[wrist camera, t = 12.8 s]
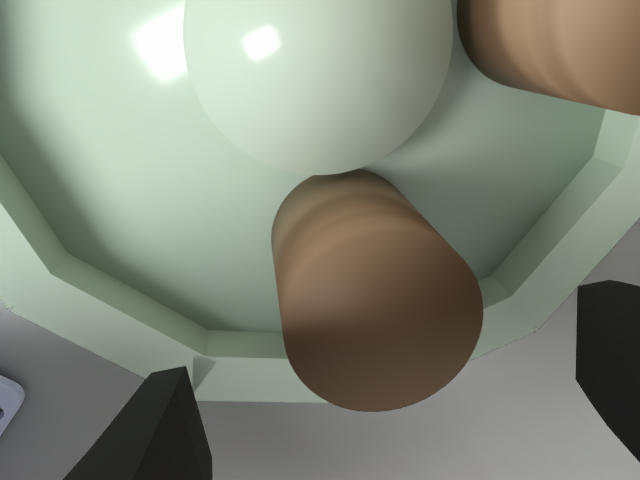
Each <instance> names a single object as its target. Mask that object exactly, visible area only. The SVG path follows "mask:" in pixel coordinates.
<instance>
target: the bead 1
mask: <svg viewBox="0 0 640 480" xmlns="http://www.w3.org/2000/svg"><path fill="white" fill-rule="evenodd" d="M271 245H272V254H273V262H274V270H275V278H276V286H277V293H278V301H279V309H280V317H281V325H282V333H283V341H284V346H285V351H286V354H287V357H288V360H289V363H290V365H291V366H292V368H293V370H294V372H295V374H296V375H297V376H298V378H299V379H300V380H301V381H302V383H303V384H304V385H305V386H306V387H307V388H308V389H309V390H311V391H312V392H313V393H315V394H316V395H317V396H319V397H320V398H322V399H324V400H326V401H327V402H329V403H332V404H334V405H337V406H339V407H343V408H347V409H350V410H356V411H364V412H379V411H389V410H394V409H399V408H403V407H406V406H409V405H412V404H415V403H417V402H419V401H421V400H424V399H426V398H427V397H429V396H431V395H433V394H434V393H436V392H437V391H439V390H440V389H441V388H443V387H444V386H446V385H447V384H448V383H449V382H450V381H451V380H452V379H453V378H454V377H455V376H456V375H457V374H458V373H459V372H460V371H461V370H462V368H463V367H464V366H465V364H466V363H467V361H468V360H469V358H470V357H471V355H472V353H473V351H474V349H475V347H476V345H477V342H478V339H479V337H480V333H481V329H482V323H483V299H482V294H481V290H480V287H479V284H478V281H477V279H476V277H475V275H474V273H473V272H472V270H471V268H470V267H469V266H468V264H467V263H466V262H465V260H464V259H463V258H462V257H461V256H460V255H459V254H458V253H457V252H456V251H455V250H454V249H453V248H452V247H451V245H450V244H449V243H448V242H447V241H446V240H445V239H444V238H443V237H442V236H441V235H440V234H439V233H438V232H437V231H436V230H435V228H434V227H433V226H432V225H431V224H430V223H429V222H428V221H427V220H426V219H425V218H424V217H423V216H422V215H421V214H420V213H419V212H418V210H417V209H416V208H415V207H414V206H413V205H412V204H411V203H410V202H409V201H408V200H407V199H406V198H405V197H404V196H403V195H402V193H401V192H400V191H399V190H398V189H397V188H396V187H395V186H394V185H393V184H392V183H390V182H389V181H388V180H386V179H385V178H383V177H381V176H379V175H378V174H376V173H373V172H370V171H368V170H363V169H359V168H358V169H356V170H351V171H347V172H343V173H339V174H330V175H313V176H310V177H309V178H307V179H306V180H304V181H302V182H301V183H300V184H299V185H297V186H296V187H295V188H294V189H293V190H292V191H291V192H290V193H289V194H288V195H287V196H286V198H285V199H284V201H283V202H282V204H281V205H280V207H279V209H278V211H277V213H276V216H275V219H274V222H273V226H272V234H271Z"/></svg>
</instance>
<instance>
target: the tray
mask: <svg viewBox="0 0 640 480" xmlns="http://www.w3.org/2000/svg"><path fill="white" fill-rule="evenodd" d="M358 168H359V169H363V170H368V171H370V172H373V173H376V174H378V175H379V176H381V177H383V178H385V179H386V180H388V181H389V182H390V183H392V184H393V185H394V186H395V187H396V188H397V189H398V190H399V191H400V192H401V193H402V195H403V196H404V197H405V198H406V199H407V200H408V201H409V202H410V203H411V204H412V205H413V206H414V207H415V208H416V209H417V210H418V212H419V213H420V214H421V215H422V216H423V217H424V218H425V219H426V220H427V221H428V222H429V223H430V224H431V225H432V226H433V227H434V228H435V230H436V231H437V232H438V233H439V234H440V235H441V236H442V237H443V238H444V239H445V240H446V241H447V242H448V243H449V244H450V245H451V247H452V248H453V249H454V250H455V251H456V252H457V253H458V254H459V255H460V256H461V257H462V258H463V259H464V260H465V262H466V263H467V264H468V266H469V267H470V268H471V270H472V272H473V273H474V275H475V277H476V279H477V281H478V284H479V287H480V290H481V294H482V299H483V323H482V329H481V333H480V337H479V339H478V342H477V345H476V347H475V349H474V351H473V353H472V355H471V357H470V358H469V360H468V361H470V360H473V359H475V358H477V357H479V356H482V355H484V354H486V353H489V352H491V351H493V350H495V349H498V348H500V347H502V346H504V345H507V344H509V343H511V342H513V341H516V340H518V339H520V338H522V337H525V336H527V335H529V334H531V333H534V332H536V331H535V328H537V329H538V330H539V329H540V327H541V326H542V325H543V324H544V323H545V322H546V321H547V320H548V319H549V318H550V316H551V315H552V314H553V313H554V312H555V311H556V310H557V309H558V308H559V306H560V305H561V304H562V303H563V302H564V301H565V300H566V299H567V298H568V297H569V295H570V294H571V293H572V292H573V291H574V290H575V289H576V288H577V287H578V285H579V284H580V283H581V282H582V281H583V280H584V279H585V278H586V277H587V276H588V274H589V273H590V272H591V271H592V270H593V269H594V268H595V267H596V266H597V264H598V263H599V262H600V261H601V260H602V259H603V258H604V257H605V256H606V255H607V253H608V252H609V251H610V250H611V249H612V248H613V247H614V246H615V245H616V243H617V242H618V241H619V240H620V239H621V238H622V237H623V236H624V235H625V234H626V232H627V231H628V230H629V229H630V228H631V227H632V226H633V225H634V224H635V222H636V221H637V220H638V219H639V218H640V116H637V115H630V114H626V113H621V112H617V111H613V110H608V109H604V108H600V107H595V106H591V105H586V104H582V103H578V102H573V101H569V100H565V99H560V98H556V97H551V96H547V95H543V94H538V93H534V92H530V91H525V90H521V89H516V88H512V87H508V86H504V85H501V84H499V83H497V82H494V81H492V80H491V79H489V78H488V77H486V76H485V75H484V74H482V73H481V72H480V71H479V70H478V69H477V68H476V67H475V66H474V64H473V63H472V62H471V60H470V59H469V57H468V56H467V54H466V52H465V50H464V48H463V45H462V43H461V39H460V36H459V32H458V26H457V0H0V300H1V301H2V303H3V304H4V305H5V307H6V308H7V309H8V308H10V307H12V306H13V308H12V309H11V311H10V312H12V313H14V314H16V315H18V316H20V317H22V318H24V319H26V320H28V321H30V322H32V323H34V324H36V325H38V326H40V327H42V328H44V329H47V330H49V331H51V332H53V333H55V334H57V335H59V336H61V337H63V338H65V339H67V340H69V341H71V342H73V343H75V344H77V345H79V346H81V347H83V348H85V349H87V350H89V351H91V352H93V353H95V354H97V355H99V356H101V357H103V358H105V359H107V360H109V361H111V362H113V363H115V364H117V365H119V366H121V367H123V368H125V369H127V370H129V371H131V372H133V373H135V374H137V375H139V376H141V377H143V378H145V379H146V378H147V377H148V376H149V375H150V374H151V373H152V372H157V371H162V370H167V369H172V368H177V367H182V366H186V367H187V371H188V374H189V378H190V381H191V385H192V388H193V392H194V396H195V399H196V401H227V402H288V403H329V402H327V401H326V400H324V399H322V398H320V397H319V396H317V395H316V394H315V393H313V392H312V391H311V390H309V389H308V388H307V387H306V386H305V385H304V384H303V383H302V381H301V380H300V379H299V378H298V376H297V375H296V374H295V372H294V370H293V368H292V366H291V365H290V363H289V360H288V357H287V354H286V351H285V346H284V341H283V333H282V325H281V317H280V309H279V301H278V293H277V286H276V278H275V270H274V262H273V254H272V245H271V234H272V226H273V222H274V219H275V216H276V213H277V211H278V209H279V207H280V205H281V204H282V202H283V201H284V199H285V198H286V196H287V195H288V194H289V193H290V192H291V191H292V190H293V189H294V188H295V187H296V186H297V185H299V184H300V183H301V182H302V181H304V180H306V179H307V178H309V177H310V176H313V175H330V174H339V173H343V172H347V171H351V170H356V169H358ZM468 361H467V362H468Z"/></svg>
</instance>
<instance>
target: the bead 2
mask: <svg viewBox="0 0 640 480" xmlns="http://www.w3.org/2000/svg"><path fill="white" fill-rule="evenodd" d="M457 26H458V32H459V36H460V39H461V43H462V45H463V48H464V50H465V52H466V54H467V56H468V57H469V59H470V60H471V62H472V63H473V64H474V66H475V67H476V68H477V69H478V70H479V71H480V72H481V73H482V74H484V75H485V76H486V77H488V78H489V79H491V80H492V81H494V82H497V83H499V84H501V85H504V86H508V87H512V88H516V89H521V90H525V91H530V92H534V93H538V94H543V95H547V96H551V97H556V98H560V99H565V100H569V101H573V102H578V103H582V104H586V105H591V106H595V107H600V108H604V109H608V110H613V111H617V112H621V113H626V114H630V115H637V116H640V0H457Z"/></svg>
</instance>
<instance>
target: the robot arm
mask: <svg viewBox="0 0 640 480" xmlns="http://www.w3.org/2000/svg"><path fill="white" fill-rule="evenodd" d="M576 380H577V382H578V384H579V385H580V387H581V388H582V390H583V391H584V393H585V394H586V396H587V397H588V399H589V400H590V402H591V403H592V405H593V406H594V408H595V409H596V410H597V412H598V413H599V415H600V416H601V417H602V419H603V420H604V422H605V423H606V424H607V426H608V427H609V428H610V429H611V430H612V431H613V433H614V434H615V435H616V436H617V437H618V438H619V439H620V441H621V442H622V443H623V444H624V445H625V446H626V447H627V448H628V450H629V451H630V452H631V453H632V454H633V455H634V456H635V457H636V459H637V460H638V461H639V462H640V286H636V285H632V284H627V283H623V282H618V281H612V280H607V281H602V282H597V283H592V284H587V285H582V286H578V295H577V342H576ZM24 397H25V393H24V390H23V388H22V387H21V385H19V384H18V383H16V382H14V381H12V380H10V379H8V378H6V377H4V376H1V375H0V408H1V409H3V411H4V412H0V436H1V434H2V433H3V431H4V430H5V428H6V427H7V425H8V424H9V422H10V421H11V419H12V418H13V416H14V415H15V413H16V412H17V410H18V409H19V407H20V406H21V404H22V402H23V400H24ZM63 480H212V456H211V452H210V449H209V445H208V442H207V438H206V435H205V431H204V428H203V424H202V420H201V417H200V413H199V410H198V406H197V403H196V399H195V396H194V392H193V388H192V385H191V381H190V378H189V374H188V371H187V367H186V366H182V367H177V368H172V369H167V370H162V371H157V372H152V373H151V374H150V375H149V376H148V377H147V378H146V380H145V381H144V382H143V383H142V384H141V386H140V387H139V388H138V390H137V391H136V392H135V393H134V395H133V396H132V397H131V399H130V400H129V401H128V402H127V404H126V405H125V406H124V408H123V409H122V410H121V411H120V413H119V414H118V415H117V416H116V418H115V419H114V420H113V421H112V423H111V424H110V425H109V426H108V428H107V429H106V430H105V431H104V432H103V434H102V435H101V436H100V437H99V439H98V440H97V441H96V442H95V444H94V445H93V446H92V447H91V448H90V450H89V451H88V452H87V453H86V454H85V455H84V457H83V458H82V459H81V460H80V461H79V462H78V463H77V464H76V466H75V467H74V468H73V469H72V470H71V471H70V472H69V473H68V475H67V476H66V477H65V478H64V479H63Z"/></svg>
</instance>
